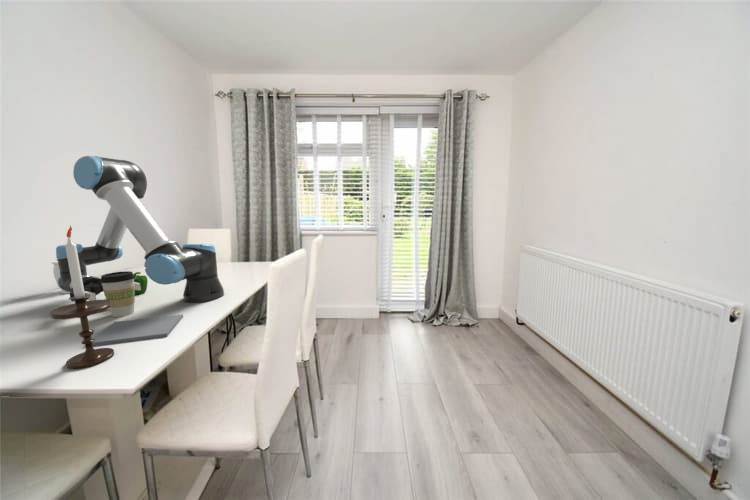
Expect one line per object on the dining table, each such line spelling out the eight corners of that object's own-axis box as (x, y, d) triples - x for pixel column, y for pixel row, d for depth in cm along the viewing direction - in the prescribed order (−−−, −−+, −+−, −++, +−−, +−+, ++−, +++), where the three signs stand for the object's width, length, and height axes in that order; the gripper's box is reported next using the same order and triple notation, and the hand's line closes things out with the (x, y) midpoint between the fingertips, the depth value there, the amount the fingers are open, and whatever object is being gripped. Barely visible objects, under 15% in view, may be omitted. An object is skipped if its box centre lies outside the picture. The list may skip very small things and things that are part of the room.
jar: (50, 294, 132) (44, 261, 130) (77, 287, 142) (71, 257, 140) (70, 295, 131) (63, 262, 128) (95, 288, 141) (90, 257, 138)
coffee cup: (120, 319, 102) (113, 278, 100) (98, 317, 104) (90, 277, 102) (147, 309, 112) (141, 271, 109) (126, 308, 114) (120, 270, 111)
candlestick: (128, 347, 83) (108, 223, 77) (97, 369, 72) (71, 227, 66) (85, 350, 81) (62, 224, 76) (47, 373, 71) (17, 228, 65)
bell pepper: (119, 296, 129) (116, 273, 127) (138, 290, 137) (135, 269, 135) (134, 297, 127) (131, 274, 125) (153, 291, 135) (150, 270, 133)
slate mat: (183, 317, 105) (182, 314, 104) (167, 336, 90) (166, 333, 89) (114, 324, 98) (114, 321, 98) (85, 346, 83) (84, 343, 83)
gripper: (126, 286, 127) (156, 292, 119) (44, 305, 105) (74, 313, 96) (123, 269, 126) (154, 274, 117) (40, 284, 103) (70, 291, 95)
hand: (118, 291), depth 107 cm, fingers open, 13 cm apart
